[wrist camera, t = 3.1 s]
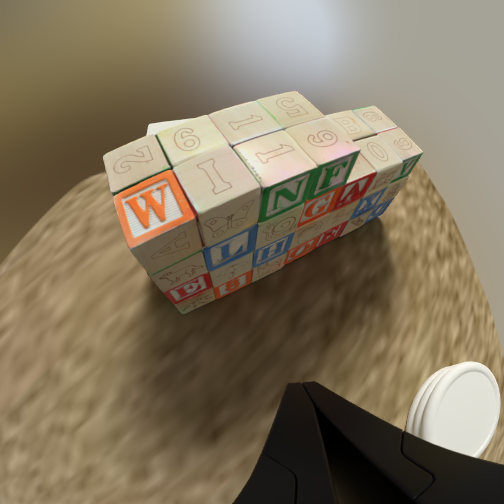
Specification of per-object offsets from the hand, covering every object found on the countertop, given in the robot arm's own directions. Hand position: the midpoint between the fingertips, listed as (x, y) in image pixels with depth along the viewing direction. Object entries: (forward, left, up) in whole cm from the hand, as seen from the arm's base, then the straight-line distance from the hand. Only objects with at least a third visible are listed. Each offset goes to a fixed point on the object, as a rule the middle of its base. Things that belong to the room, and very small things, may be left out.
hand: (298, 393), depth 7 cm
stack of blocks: (+13, -3, -13) cm, 19 cm away
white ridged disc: (-7, -16, -14) cm, 22 cm away
